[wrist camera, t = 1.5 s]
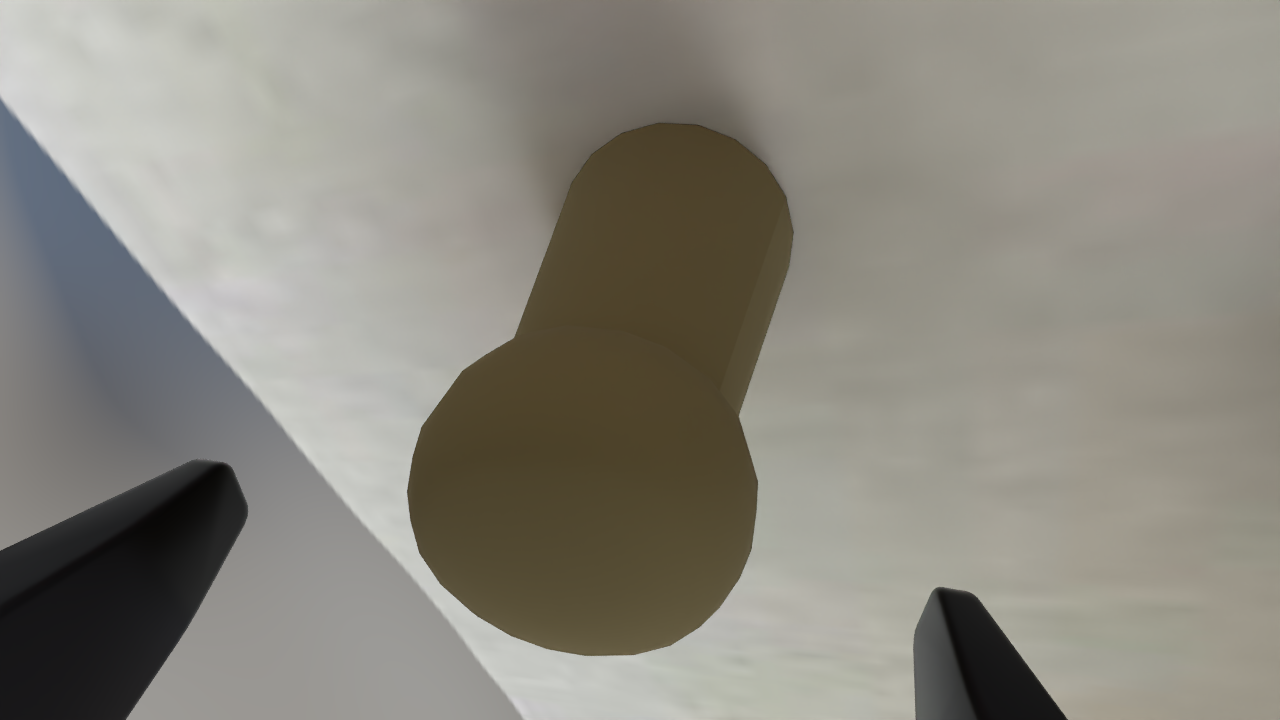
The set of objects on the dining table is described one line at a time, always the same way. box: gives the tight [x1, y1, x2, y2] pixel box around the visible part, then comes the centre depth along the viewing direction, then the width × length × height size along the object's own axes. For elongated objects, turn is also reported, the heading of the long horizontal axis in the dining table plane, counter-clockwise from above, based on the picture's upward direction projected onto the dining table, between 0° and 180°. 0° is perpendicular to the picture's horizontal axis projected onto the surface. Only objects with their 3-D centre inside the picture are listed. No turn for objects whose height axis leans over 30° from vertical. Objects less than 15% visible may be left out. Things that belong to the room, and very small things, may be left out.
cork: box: [407, 123, 793, 656], centre depth 14 cm, size 6×6×11 cm
